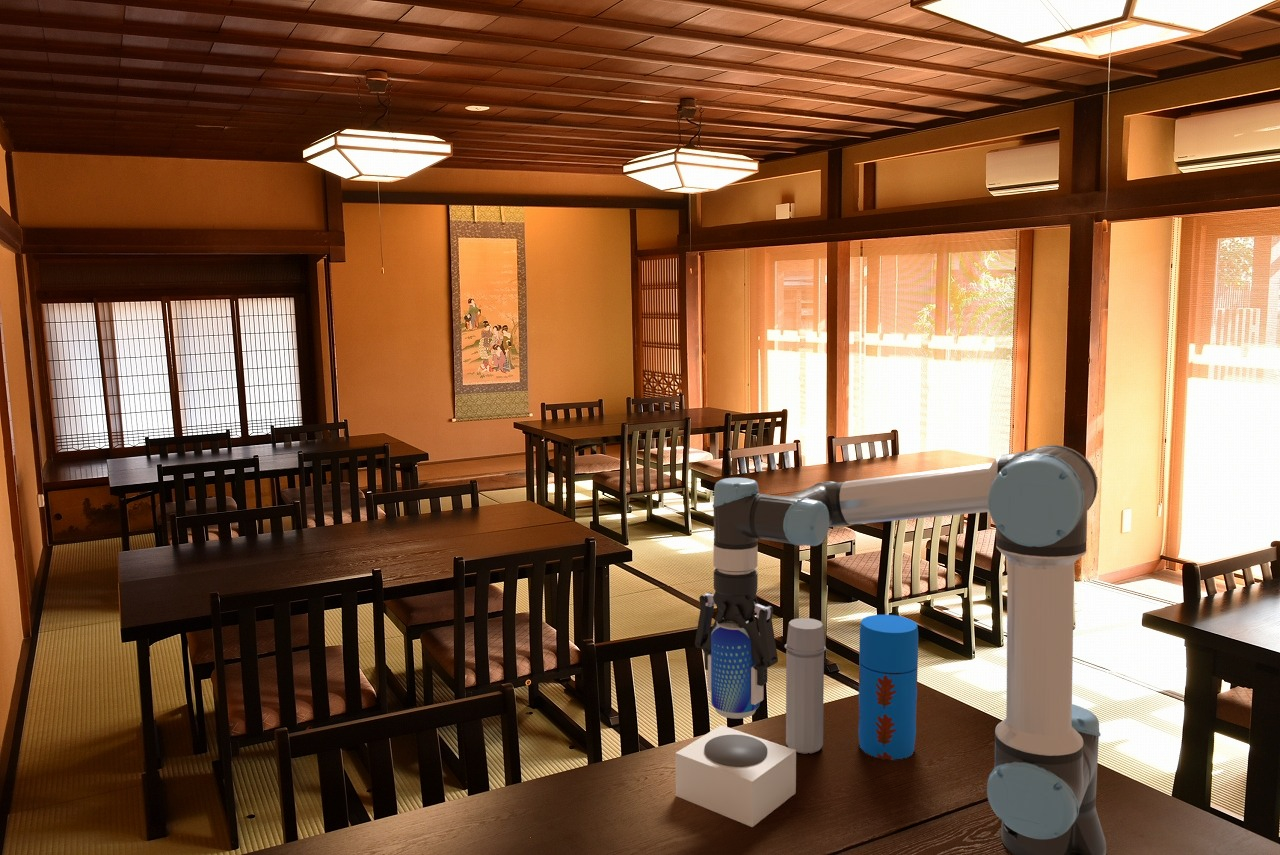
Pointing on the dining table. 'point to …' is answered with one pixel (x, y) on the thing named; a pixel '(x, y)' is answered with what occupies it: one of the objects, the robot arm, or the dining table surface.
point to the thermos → (888, 686)
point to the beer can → (731, 671)
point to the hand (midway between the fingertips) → (735, 694)
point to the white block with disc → (736, 774)
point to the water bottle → (804, 685)
